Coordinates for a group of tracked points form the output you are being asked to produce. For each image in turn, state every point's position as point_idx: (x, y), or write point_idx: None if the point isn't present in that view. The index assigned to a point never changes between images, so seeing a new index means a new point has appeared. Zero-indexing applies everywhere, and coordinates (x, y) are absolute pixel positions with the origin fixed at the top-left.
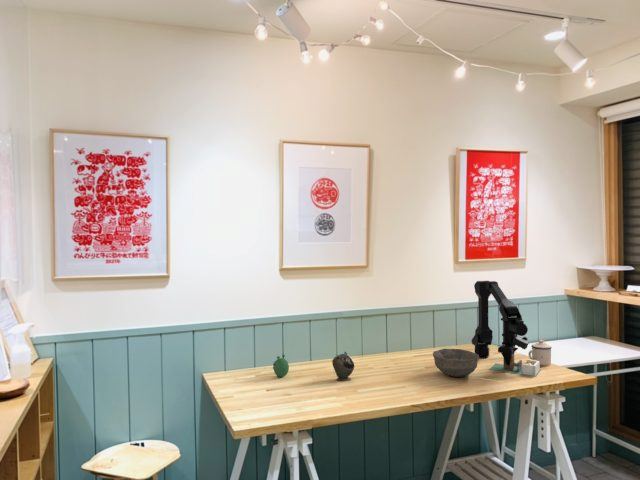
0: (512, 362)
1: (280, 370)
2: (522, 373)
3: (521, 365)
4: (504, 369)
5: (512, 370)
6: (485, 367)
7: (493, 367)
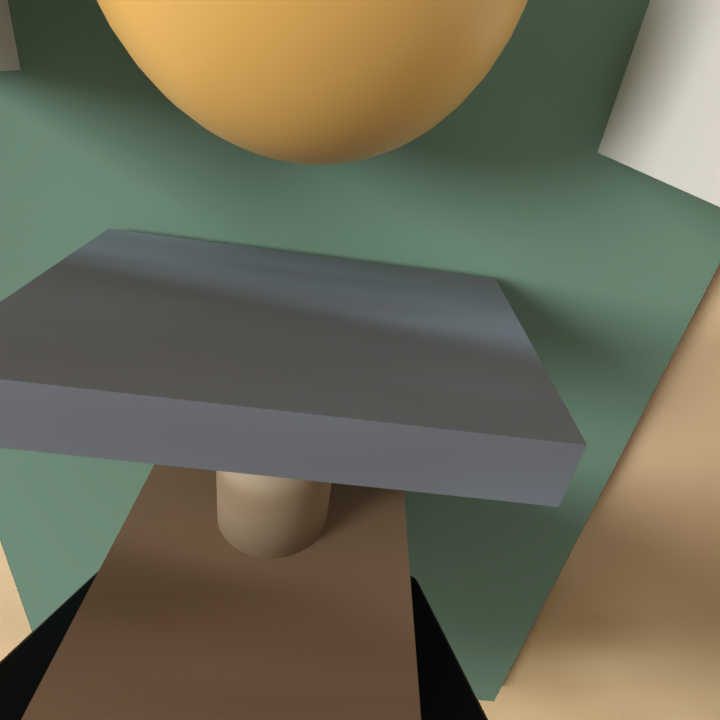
0: (392, 602)
1: None
2: (618, 170)
3: (109, 275)
4: None
5: None
6: None
7: None
